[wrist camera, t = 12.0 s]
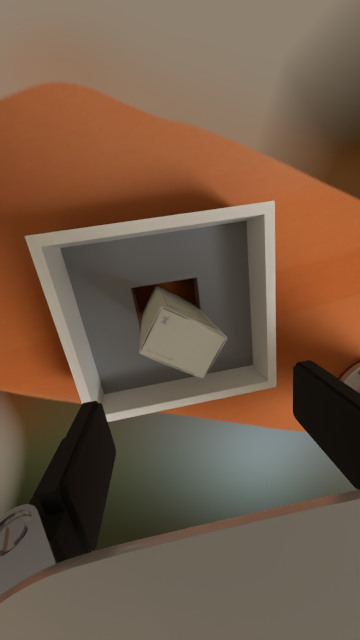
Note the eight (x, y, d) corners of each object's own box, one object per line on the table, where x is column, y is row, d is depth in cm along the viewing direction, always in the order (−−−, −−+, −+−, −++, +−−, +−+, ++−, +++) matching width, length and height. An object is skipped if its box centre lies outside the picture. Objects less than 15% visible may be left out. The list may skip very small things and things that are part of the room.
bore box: (243, 214, 26) (274, 200, 19) (250, 359, 32) (276, 386, 26) (59, 241, 25) (24, 236, 18) (103, 388, 31) (89, 425, 24)
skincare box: (141, 313, 28) (133, 353, 17) (156, 283, 27) (159, 303, 16) (183, 332, 30) (202, 382, 18) (198, 304, 29) (229, 337, 17)
